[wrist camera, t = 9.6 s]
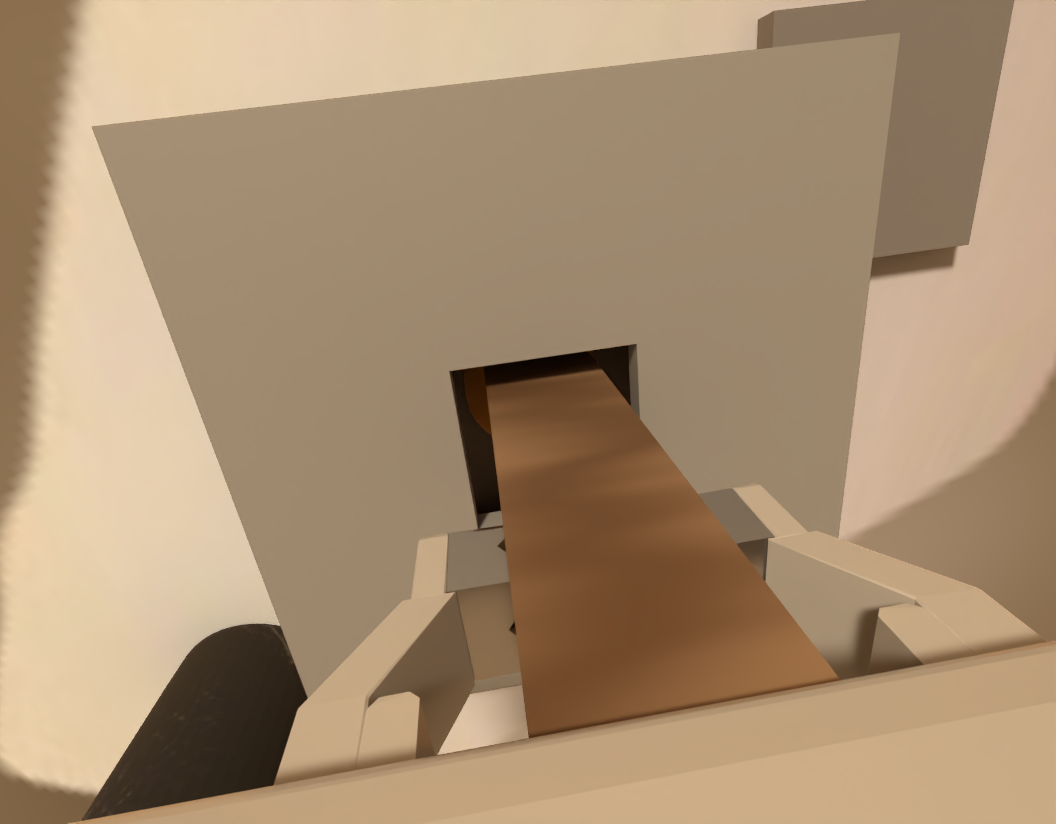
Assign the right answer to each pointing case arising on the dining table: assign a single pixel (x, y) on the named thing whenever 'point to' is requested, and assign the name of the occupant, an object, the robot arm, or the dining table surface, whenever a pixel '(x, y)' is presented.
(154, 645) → the dining table surface
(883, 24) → the pad
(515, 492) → the brown wooden bar
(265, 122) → the box
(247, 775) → the travel mug
